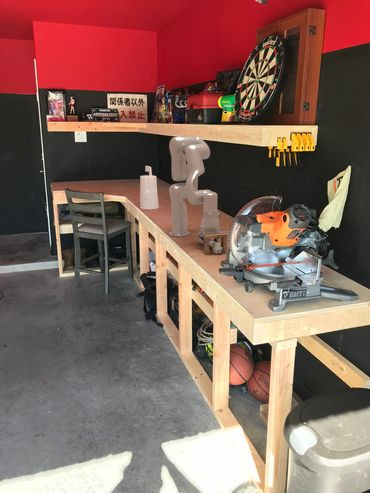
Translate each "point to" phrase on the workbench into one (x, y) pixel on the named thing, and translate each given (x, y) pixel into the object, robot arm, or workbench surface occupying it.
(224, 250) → the walnut sleeve
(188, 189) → the robot arm
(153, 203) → the white pump bottle
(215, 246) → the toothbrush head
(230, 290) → the workbench surface
